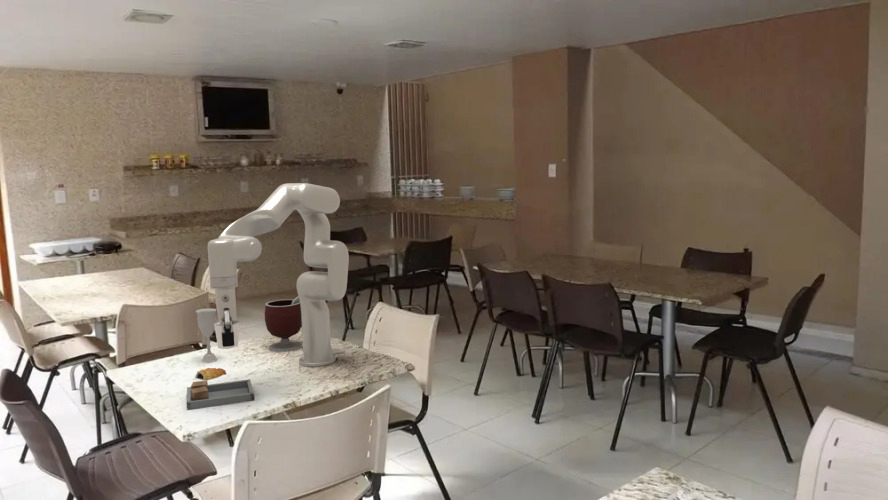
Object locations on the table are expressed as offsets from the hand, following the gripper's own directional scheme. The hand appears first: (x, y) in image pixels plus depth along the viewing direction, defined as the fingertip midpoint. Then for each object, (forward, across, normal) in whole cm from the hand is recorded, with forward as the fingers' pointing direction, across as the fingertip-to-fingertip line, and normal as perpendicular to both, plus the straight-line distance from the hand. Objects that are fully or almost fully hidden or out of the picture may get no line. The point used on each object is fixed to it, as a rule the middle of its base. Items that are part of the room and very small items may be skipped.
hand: (227, 342), depth 189 cm
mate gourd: (+17, +51, -23) cm, 58 cm away
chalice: (+17, +45, +5) cm, 48 cm away
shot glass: (+1, 0, 0) cm, 1 cm away
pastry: (+17, +23, +5) cm, 29 cm away
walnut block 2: (+16, -3, +9) cm, 18 cm away
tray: (+17, 0, +3) cm, 17 cm away
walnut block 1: (+16, +3, +9) cm, 18 cm away
